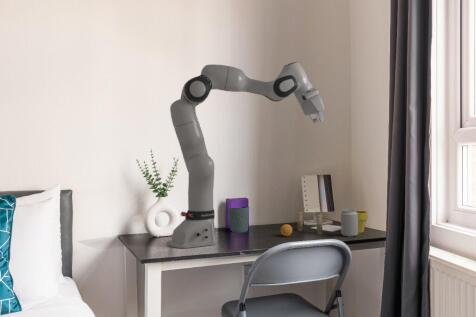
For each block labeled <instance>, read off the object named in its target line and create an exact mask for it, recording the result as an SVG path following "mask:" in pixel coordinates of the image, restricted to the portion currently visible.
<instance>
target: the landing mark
mask: <svg viewBox="0 0 476 317" xmlns="http://www.w3.org/2000/svg"><path fill="white" fill-rule="evenodd" d="M310 229H314V230H317V226H312V227H310ZM322 231H324V232H336V231H341V225H334V224H333V225H332V224H322Z"/></svg>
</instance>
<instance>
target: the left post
mask: <svg viewBox="0 0 476 317" xmlns="http://www.w3.org/2000/svg"><path fill="white" fill-rule="evenodd" d="M303 214H304V213H303V211H297V212H296V215H297V216H296V218H297V219H296V220H297V224H296V225H297V230H296V231H300V232H301V231H303V229H304V226H303V222H304V220H303V216H304V215H303Z"/></svg>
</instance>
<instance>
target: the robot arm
mask: <svg viewBox="0 0 476 317" xmlns="http://www.w3.org/2000/svg"><path fill="white" fill-rule="evenodd" d="M212 90H218V91H225V92H230V93H231V92H232V93H235V92H239V93H240V92H241V93H243V92H247V93H250V94H256V95H261V96H263V97H265V98H267V100H270V101H272V102H280V101H282V100H284V99H286V98H288V97H289V96H290V95H292V94H294V96H295V98H296V100H297V102H298V103H299V105H300V109H301V110H302V112H303V114H304V115H305V116H308V118H310V119H311V120H312V121H313V123H317V122H318V121H319V122H320V123H323V122H324V121H325V118H324V113H323V111H325V105H324V102H323V100H322V98H321V96H320V95H319V93H320V92H319V90H318V88H315V87H313V85H312V83H311V82H310V80H309V79H308V75H307V73H306V70H304V68H303V66H302V65H301V64H300V63H299V62H297V61H295V62H289V63H288V64H285V65H283V67H282V69H281V71H280V72H279V74H278V76H277V77H276V78H275V79H274V80H270V81H262V80H258V79H253V78H250V77H248V76H247V75H246V74H245V72H244V71H243V70H242V69H240V68H238V67H235V66H230V65H225V64H206V65H204V66H203V68H202V69H201V71H200V75H198V76H194V77H192V78H190V79H189V80H188V81H187V80H186V82H185V83H184V85H183V87H182V90H181V95H180V98H179V99H176V100H174V101H173V102H172V103H171V104H170V108H169V111H170V112H169V113H170V117H171V118H170V119H171V123H172V125H173V128H174V131H175V135H176V138H177V140H178V143H179V146H180V150H181V154H182V157H183V161H184V163H185V167H186V169H187V172H188V186H187V188H188V190H187V197H188V198H187V199H188V200H187V204H188V205H187V207H188V210H187V211H181V212H180V215H181V217H184V220H183V221H181V223H179V224H178V225H177V226H176V227H175V228H174V230H173V232H172V236H171V240H169V241H166V245H167V246H168V247H170V248H176V249H190V248H198V247H206V246H207V247H208V246H214V245H216V244H217V243H218V241H219V240H218V238H217V237H218V236H217V234H216V227H215V216H216V214H215V209H214V185H215V162H214V160H213V158H211V156H210V155H209V154H208V150H207V146H206V142H205V137H204V134H203V130H202V128H201V126H200V122H199V118H198V116H197V112H196V107H197V106H199V105H201V104H202V103H204V102H205V101H206V100H207V99H208V97H209V95H210V93H211V91H212ZM315 114H316V115H317V116H318V118H319V119H318V118H317V117H316V116H315Z"/></svg>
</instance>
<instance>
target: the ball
mask: <svg viewBox="0 0 476 317" xmlns="http://www.w3.org/2000/svg"><path fill="white" fill-rule="evenodd" d="M280 233H281V235H282V236H284V237H289V236H291V234H292V233H293V227H292V226H291V225H290V224H283V225H282V226H281V227H280Z"/></svg>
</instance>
